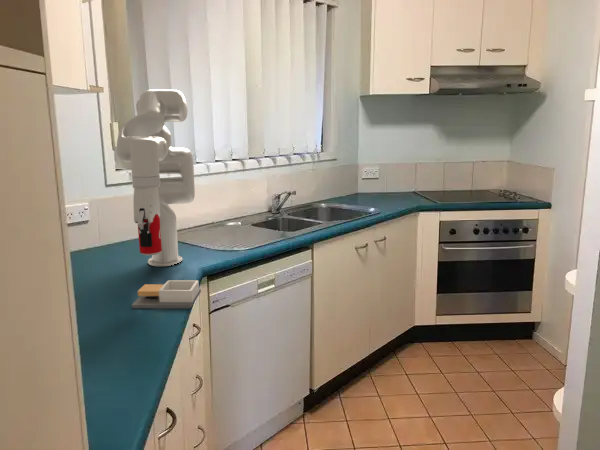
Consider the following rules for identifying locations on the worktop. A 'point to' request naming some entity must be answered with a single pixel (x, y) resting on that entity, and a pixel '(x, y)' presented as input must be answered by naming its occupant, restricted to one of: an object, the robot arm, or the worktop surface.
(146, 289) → the tan flat square block
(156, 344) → the worktop surface
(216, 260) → the worktop surface
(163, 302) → the grey tray with holder
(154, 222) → the beverage can
